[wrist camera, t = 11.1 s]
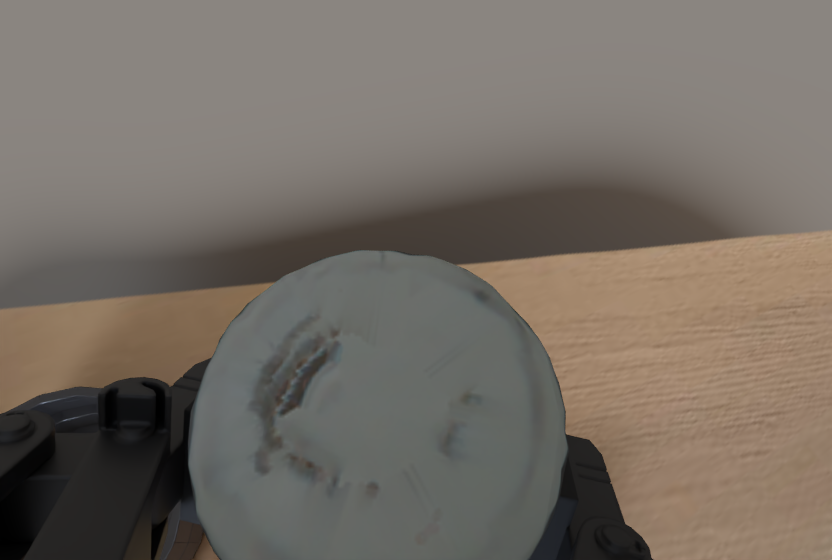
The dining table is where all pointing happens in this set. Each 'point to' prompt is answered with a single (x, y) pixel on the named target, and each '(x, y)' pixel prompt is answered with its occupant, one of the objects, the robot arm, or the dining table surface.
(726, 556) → the dining table surface
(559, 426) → the sauce bottle
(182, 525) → the pan
